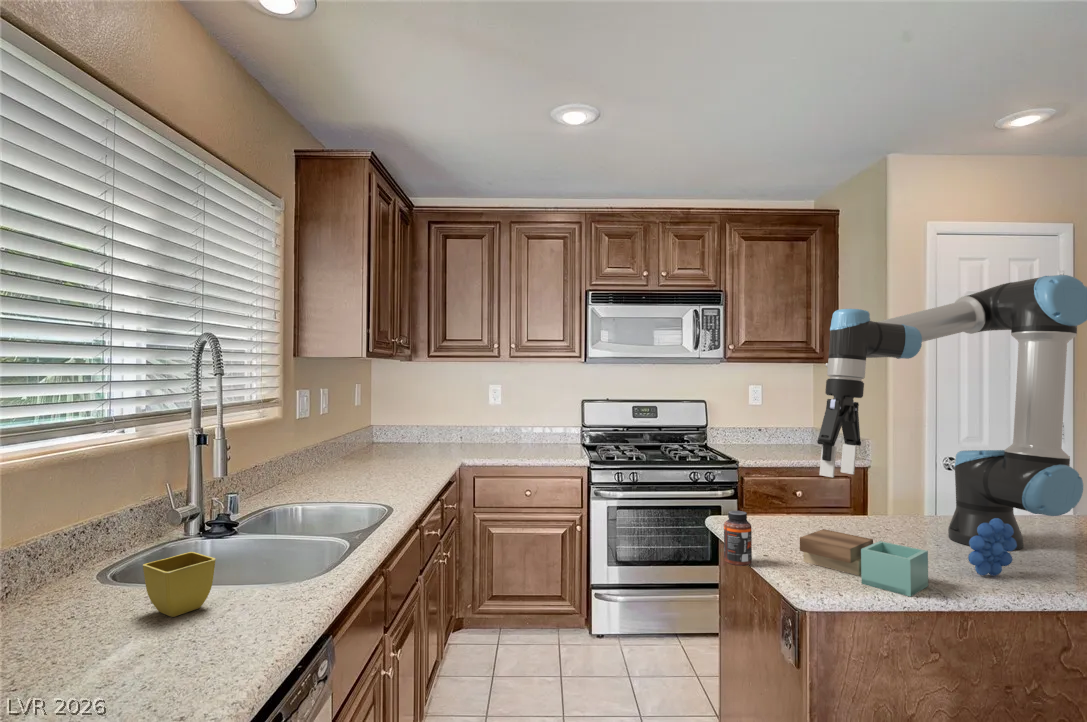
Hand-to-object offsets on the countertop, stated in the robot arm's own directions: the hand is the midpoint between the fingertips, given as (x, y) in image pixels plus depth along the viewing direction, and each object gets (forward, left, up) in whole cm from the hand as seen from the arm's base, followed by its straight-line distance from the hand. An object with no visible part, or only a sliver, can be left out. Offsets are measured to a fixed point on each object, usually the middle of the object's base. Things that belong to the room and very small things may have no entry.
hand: (837, 474), depth 131 cm
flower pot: (+117, -65, -20) cm, 135 cm away
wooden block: (0, -1, -20) cm, 20 cm away
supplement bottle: (+15, -16, -20) cm, 30 cm away
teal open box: (+3, +12, -20) cm, 24 cm away
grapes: (-19, +22, -20) cm, 36 cm away
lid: (0, -1, -17) cm, 17 cm away
